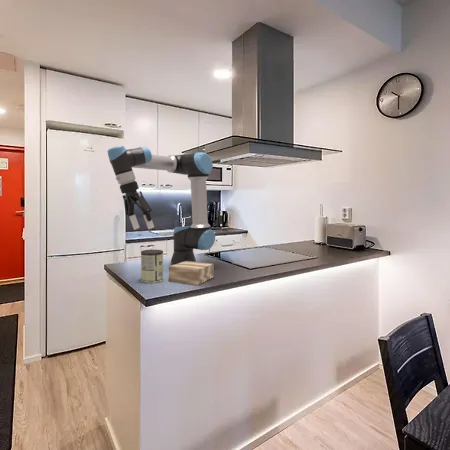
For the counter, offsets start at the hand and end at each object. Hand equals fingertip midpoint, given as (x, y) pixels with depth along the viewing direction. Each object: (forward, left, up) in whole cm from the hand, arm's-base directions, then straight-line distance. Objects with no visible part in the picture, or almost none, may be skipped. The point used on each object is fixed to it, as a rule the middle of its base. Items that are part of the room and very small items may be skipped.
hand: (143, 228), depth 138 cm
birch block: (-18, +14, -25) cm, 34 cm away
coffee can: (-8, -2, -26) cm, 27 cm away
